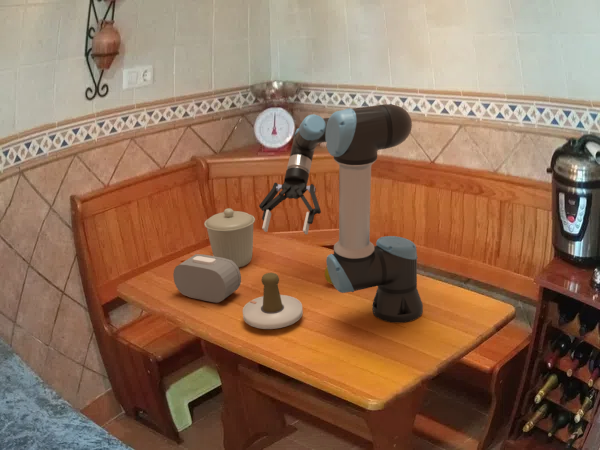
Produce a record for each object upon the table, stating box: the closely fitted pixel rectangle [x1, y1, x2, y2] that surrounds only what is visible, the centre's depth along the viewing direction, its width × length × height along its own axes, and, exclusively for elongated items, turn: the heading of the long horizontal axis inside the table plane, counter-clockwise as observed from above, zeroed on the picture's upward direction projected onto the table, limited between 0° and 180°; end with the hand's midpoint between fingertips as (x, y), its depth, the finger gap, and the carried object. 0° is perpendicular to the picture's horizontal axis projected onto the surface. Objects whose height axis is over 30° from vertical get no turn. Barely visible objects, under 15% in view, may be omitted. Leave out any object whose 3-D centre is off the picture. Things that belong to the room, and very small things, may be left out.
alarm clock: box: [173, 253, 242, 304], centre depth 222 cm, size 21×10×13 cm, turn 61°
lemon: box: [324, 266, 334, 286], centre depth 225 cm, size 6×6×8 cm
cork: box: [261, 272, 283, 312], centre depth 202 cm, size 6×6×11 cm
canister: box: [203, 207, 256, 269], centre depth 244 cm, size 18×18×21 cm
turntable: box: [242, 294, 304, 330], centre depth 205 cm, size 18×18×2 cm
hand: (284, 231), depth 212 cm, fingers open, 13 cm apart
